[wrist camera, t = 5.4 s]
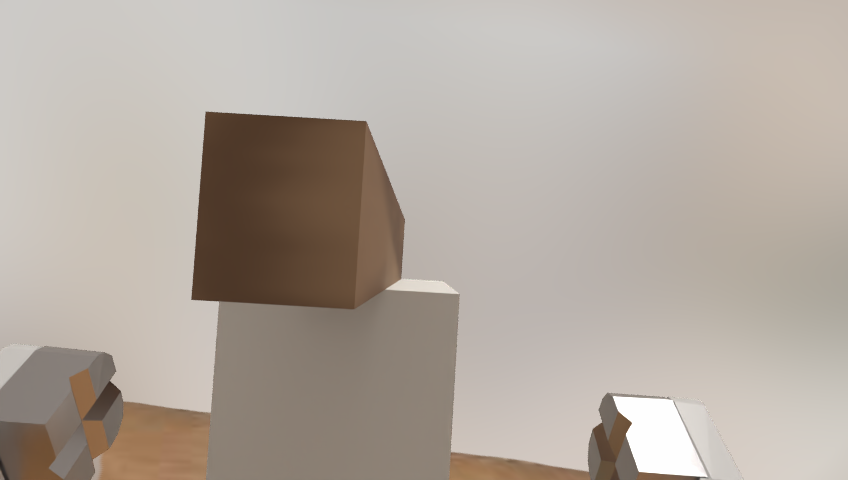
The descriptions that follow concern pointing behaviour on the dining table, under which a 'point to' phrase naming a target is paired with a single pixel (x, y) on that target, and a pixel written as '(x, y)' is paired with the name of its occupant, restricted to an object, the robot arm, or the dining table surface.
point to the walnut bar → (294, 213)
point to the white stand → (336, 388)
